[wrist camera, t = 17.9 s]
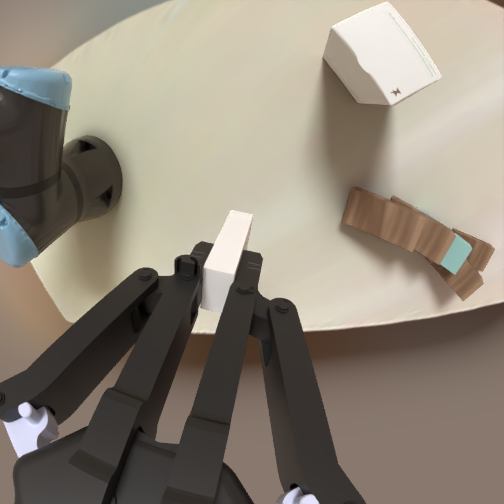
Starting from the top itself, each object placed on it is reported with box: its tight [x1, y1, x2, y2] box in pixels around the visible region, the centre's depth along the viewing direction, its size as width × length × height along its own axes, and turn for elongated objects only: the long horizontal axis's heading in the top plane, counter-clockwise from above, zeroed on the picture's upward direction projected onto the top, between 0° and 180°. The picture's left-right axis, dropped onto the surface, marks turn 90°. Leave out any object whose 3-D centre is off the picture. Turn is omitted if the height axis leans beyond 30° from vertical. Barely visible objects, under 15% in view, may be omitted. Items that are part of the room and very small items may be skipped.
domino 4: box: [425, 257, 484, 301], centre depth 36 cm, size 2×5×11 cm
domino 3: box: [452, 228, 495, 272], centre depth 37 cm, size 2×5×11 cm
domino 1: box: [342, 187, 426, 253], centre depth 35 cm, size 2×5×11 cm
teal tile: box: [416, 207, 472, 275], centre depth 35 cm, size 2×5×11 cm
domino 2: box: [391, 195, 456, 265], centre depth 34 cm, size 2×5×11 cm
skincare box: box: [323, 2, 442, 107], centre depth 21 cm, size 8×7×16 cm
